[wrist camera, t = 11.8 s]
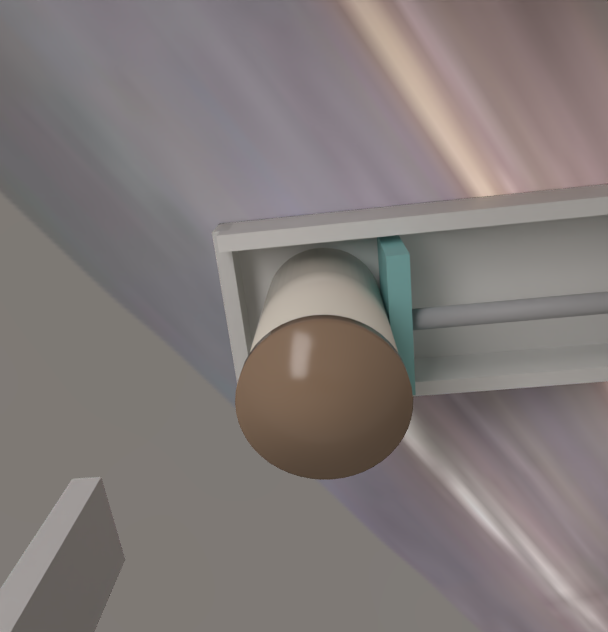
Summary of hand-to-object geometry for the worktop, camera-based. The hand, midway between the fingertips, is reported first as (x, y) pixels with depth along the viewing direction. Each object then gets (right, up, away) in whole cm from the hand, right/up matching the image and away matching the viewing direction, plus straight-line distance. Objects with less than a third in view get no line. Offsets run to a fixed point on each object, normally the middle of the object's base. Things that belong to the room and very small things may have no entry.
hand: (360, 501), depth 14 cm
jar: (0, +5, +15) cm, 16 cm away
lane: (+6, +6, +15) cm, 17 cm away
